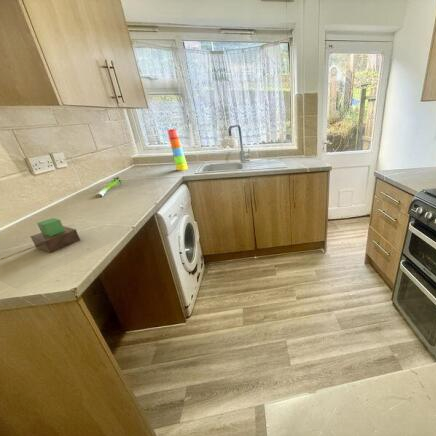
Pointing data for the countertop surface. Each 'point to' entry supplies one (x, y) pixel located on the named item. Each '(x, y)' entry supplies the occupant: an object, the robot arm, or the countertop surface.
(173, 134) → the stacking cups
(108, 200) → the countertop surface
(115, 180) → the leek
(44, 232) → the toy block
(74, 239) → the walnut block
